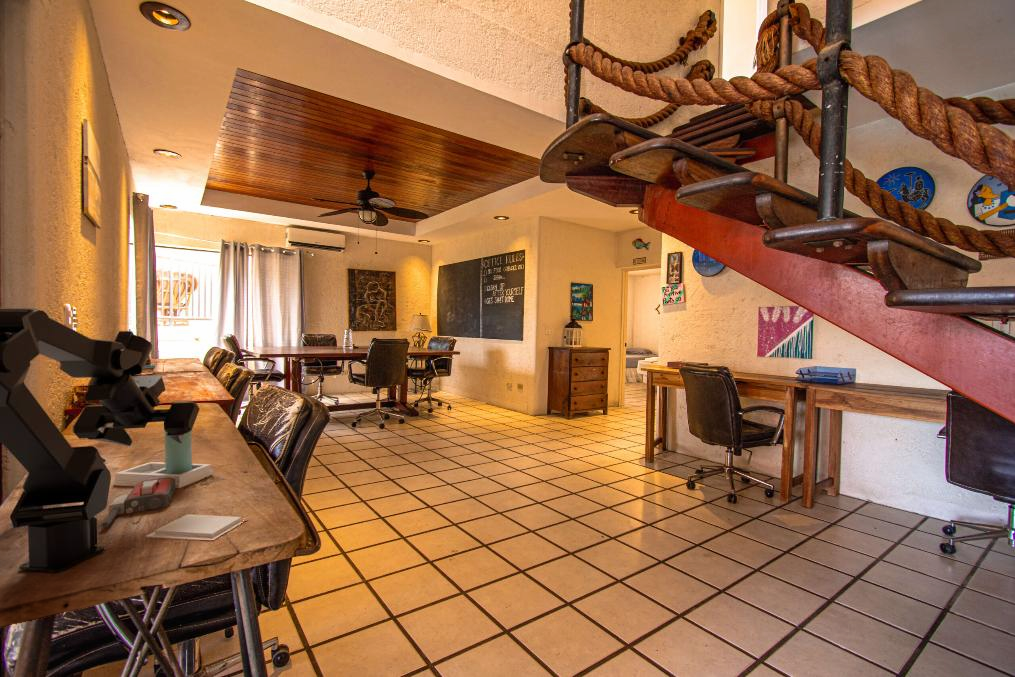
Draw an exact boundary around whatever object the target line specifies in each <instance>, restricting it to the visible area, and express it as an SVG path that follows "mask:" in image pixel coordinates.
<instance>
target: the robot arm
mask: <svg viewBox="0 0 1015 677" xmlns="http://www.w3.org/2000/svg"><path fill="white" fill-rule="evenodd" d="M152 350H153V344H152V342H151V341H149V340H147V339H146V338H144V337H142V336H139V335H136V334H134V332H133V331H132V330H130V331H129V330H119V331H118V333H117V335H116V337H115V339H114V340H106V339H96V338H90V337H88V336H87V335H84V334H82V333H80V332H79V331H77V330H75V329H73V328H71V327H69V326H67V325H65V324H63V323H61V322H59V321H58V320H55V319H53V318H51V317H49V314H48V313H47V312H46V311H44V310H41V309H37V308H34V307H0V442H1V443H2V445H3V446H4V447H5V448H6V449H7V450H8V451H9V452H10V453H11V455H12V456H13V457H14V458H15V459H16V460H17V461H18V462H19V463H20V465H21V466H22V467H23V468H24V469H25V470H26V472H27V473H28V474H27V475H26V478H25V481H24V482H23V485H22V487H21V488H22V489H23V491H22V493H21V495H20V497H19V499H18V501H17V502H16V504H15V506H14V508H13V509H12V512H11V513H10V515H9V516H10V518H9V519H10V521H11V523H12V526H13V527H12V528H13V529H15V528H16V529H18V528H21V527H27V538H28V539H27V540H28V541H27V544H28V547H27V548H28V561H27V562H24V563H21V564H20V565H19V568H18V569H19V570H20V569H22V571H31V572H32V571H34V572H46V573H58V572H61V571H63V570H65V569H67V568H70V567H72V566H74V565H76V564H78V563H80V562H82V561H84V560H87V559H88V558H91V557H93V556H95V555H97V554H100V553H101V552H104V551H105V546H101V545H99V546H98V518H96V517H95V516H97V515H98V514H100V513H102V511H104V510H106V509H107V507H108V500H109V499H108V498H109V494H110V487H111V483H112V482H111V480H112V475H111V472H110V470H109V469H108V467H107V465H106V464H105V463H106V459H105V458H103V457H102V456H101V454H100V452H99V450H98V448H96V447H95V446H93V445H86V446H85V445H84V446H71V444H70V443H69V442H68V440H67V439H66V438H65V436H64V435H63V433H62V432H61V431H60V430H59V428H58V426H56V424H55V422H54V421H53V420H52V419H51V418H50V415H48V414H47V412H46V410H45V409H44V408H43V407H42V406H41V404H40V403H39V402H38V400H37V399H36V398H35V396H34V395H33V394H32V392H31V390H29V388H28V387H27V385H26V384H25V380H26V378H27V374H28V372H29V369H30V367H31V362H32V361H33V360H34V359H35V358H37V357H38V356H39V355H41V356H44V357H46V358H49V359H51V360H55V361H57V362H58V363H59V367H58V368H59V370H60V371H62V372H63V373H65V374H66V375H68V376H69V377H71V378H72V379H82V378H83V379H84V378H85V379H87V378H89V381H88V384H87V390H86V392H85V393H84V401H85V402H95V401H96V402H97V401H99V402H100V404H96V405H95V404H94V405H93V404H91V405H87V406H84V407H83V409H82V411H81V412H80V414H79V415H78V417H77V418H76V420H75V422H74V424H73V425H72V433H73V434H74V436H76V437H77V438H78V439H87V440H89V441H92V440H93V441H98V442H99V441H100V442H106V443H112V444H116V445H121V446H127V447H131V445H132V444H133V440H132V437H131V436H130V435H129V434H128V432H127V431H126V429H143V428H144V429H145V428H146V426H147V424H148V423H160V422H161V423H162V422H163V429H164V430H165V431H166V432H168V433H167V436H169V437H170V438H172V439H173V440H175V441H176V442H179V443H182V442H183V440H184V434H185V433H188V432H190V431H191V432H193V431H192V430H193V427H194V426H195V422H196V420H197V417H198V415H199V412H200V410H201V409H200V407H199V405H198V404H197V403H196V402H195V401H175V402H171V405H170V407H169V408H165V409H164V408H163V409H161V408H160V409H158V408H157V409H155V407H158V406H160V405H159V404H160V402H161V400H159V397H160V396H161V395H162V393H164V392H165V391H166V386H165V382H164V379H163V376H162V375H160V374H156V375H155V374H154V375H153V374H152V375H151V374H150V375H148V374H147V375H141V374H142V372H143V370H144V369H145V366H146V363H147V361H148V359H149V357H150V354H151V351H152ZM79 503H82V504H79ZM70 504H71V505H70ZM72 504H77V505H72ZM59 505H66V506H59ZM67 505H68V506H67ZM48 506H56V507H48ZM44 507H47V508H44Z"/></svg>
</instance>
